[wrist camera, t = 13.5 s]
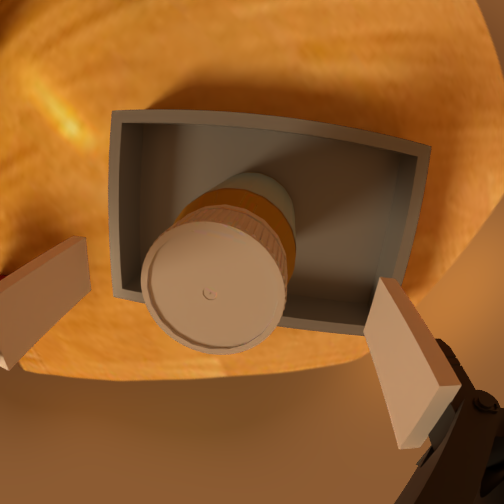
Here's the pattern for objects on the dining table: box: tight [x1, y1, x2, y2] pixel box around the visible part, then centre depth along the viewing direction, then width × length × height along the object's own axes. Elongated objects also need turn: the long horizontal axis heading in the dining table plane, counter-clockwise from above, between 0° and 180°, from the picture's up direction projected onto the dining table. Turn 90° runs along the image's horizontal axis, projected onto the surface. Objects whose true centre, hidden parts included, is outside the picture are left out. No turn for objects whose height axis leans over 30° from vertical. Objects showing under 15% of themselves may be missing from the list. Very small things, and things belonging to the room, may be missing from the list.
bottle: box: [141, 172, 296, 355], centre depth 20 cm, size 7×7×15 cm
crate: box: [108, 109, 431, 336], centre depth 25 cm, size 16×24×5 cm, turn 84°
